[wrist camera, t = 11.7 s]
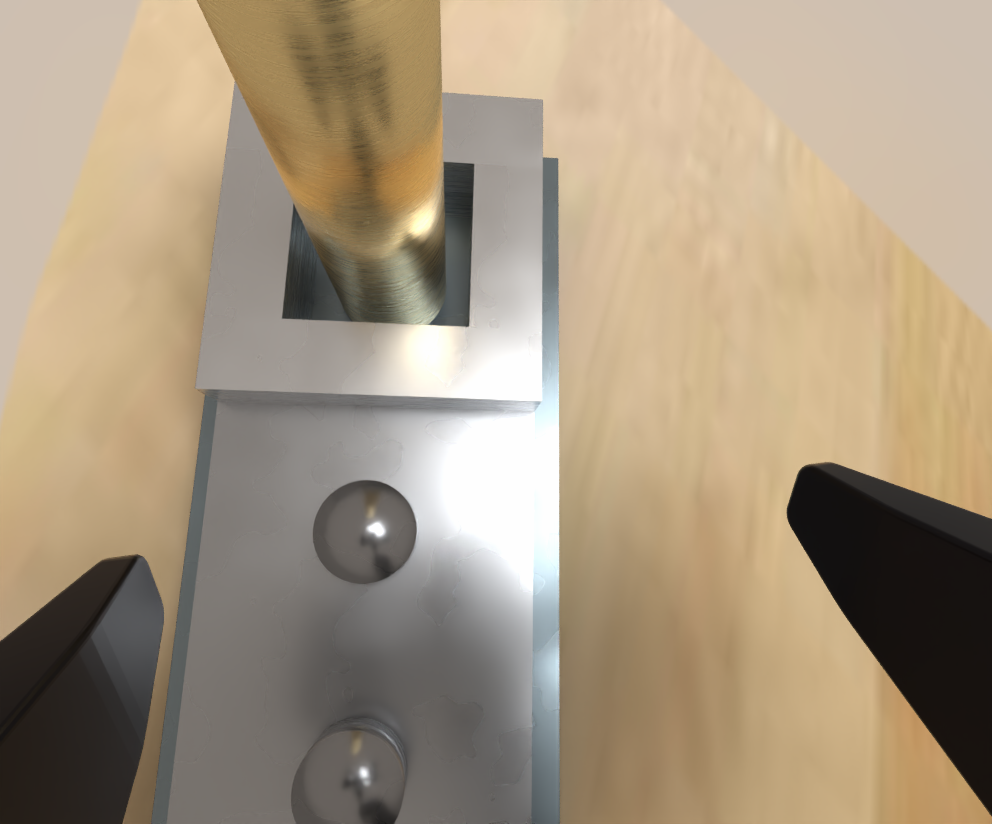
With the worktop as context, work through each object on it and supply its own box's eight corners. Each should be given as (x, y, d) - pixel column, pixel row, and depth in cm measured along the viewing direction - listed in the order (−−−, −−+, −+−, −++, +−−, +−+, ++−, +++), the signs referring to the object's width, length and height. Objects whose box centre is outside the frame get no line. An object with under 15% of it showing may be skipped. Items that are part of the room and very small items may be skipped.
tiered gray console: (551, 841, 18) (584, 944, 13) (171, 847, 17) (72, 957, 12) (551, 183, 22) (575, 96, 18) (252, 164, 21) (200, 69, 17)
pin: (461, 316, 19) (480, -65, 7) (359, 352, 19) (187, 9, 7) (424, 223, 20) (380, -276, 8) (323, 256, 19) (103, -224, 7)
